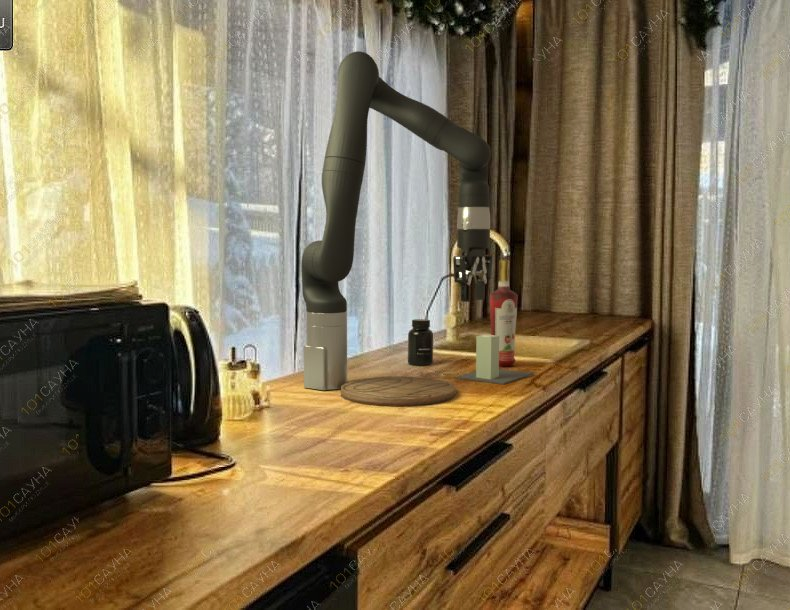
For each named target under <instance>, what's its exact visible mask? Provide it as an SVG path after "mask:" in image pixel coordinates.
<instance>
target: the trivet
mask: <svg viewBox="0 0 790 610" xmlns="http://www.w3.org/2000/svg"><path fill="white" fill-rule="evenodd" d="M456 388H457V387H456V386H455V385H454V384H453V383H451V382H448V381H445V380H442V379H435V378H429V377H419V376H401V375H400V376H398V375H397V376H396V375H395V376H377V377H374V376H373V377H365V378H360V379H355V380H351V381H347V383H345V384H343V385H342V386H341V388H340V397H341V398H342V399H344V400H346V401H348V402H351V403H356V404H359V405H364V406H375V407H387V408H388V407H392V408H397V407H399V408H403V407H404V408H405V407H407V408H409V407H421V406H423V407H424V406H431V405H438V404H441V403H444V402H445V403H446V402H448V401H451V400H452V399H454V398H455V397H456V393H457V392H456V391H457V390H456Z"/></svg>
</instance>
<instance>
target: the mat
mask: <svg viewBox="0 0 790 610" xmlns="http://www.w3.org/2000/svg"><path fill="white" fill-rule="evenodd" d="M533 374H534V375H535V373H534V372H529V371H520V370H512V369H505V368H504V369H503V368H499V377H496V378H493V379H484V378H476V370H474V371H472V372H468V373H465V374H461V375H458V376H457V375H456V376H455V379H457V380H458V379H459V380H467V381H472V382H473V381H476V382H482V383H489V384H498V385H507V384H510V383H512V382H515V381H518V379H519V380H521V378H522V379H525V378H528V377H530V375H531V376H533ZM527 376H528V377H527ZM524 377H525V378H524Z"/></svg>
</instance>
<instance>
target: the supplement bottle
mask: <svg viewBox="0 0 790 610" xmlns="http://www.w3.org/2000/svg"><path fill="white" fill-rule="evenodd" d="M411 327H412V328H411V329H410V330H409V331H408V333H407V363H408V365H410V366H418V367H425V366H426V367H427V366H431V365H433V361H434V331H432V330H431V329H430V328H431V320H430V319H424V318H421V319H420V318H417V319H415V318H413V319H412V320H411Z"/></svg>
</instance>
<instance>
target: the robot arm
mask: <svg viewBox="0 0 790 610" xmlns="http://www.w3.org/2000/svg"><path fill="white" fill-rule="evenodd" d="M336 88H337V89H336V103H335V111H334V116H333V120H332V122H331V123H332V124H331V127H330V132H329V136H328V141H327V144H326V151H325V154H324V160H323V165H322V172H321V189H322V195H323V199H324V200H323V201H324V205H325V214H326V215H325V225H324V230H323V235H322V239H321V240H314V241H312V242H310V243H309V244H307V246H306V247H305V248H304V250H303V252H302V255H301V266H300V267H301V286H302V287H301V289H302V290H301V291H302V297H303V300H304V302H305V309H306V310H305V312H306V315H305V316H306V321H305V322H306V326H305V327H306V330H305V331H306V345H304V346H303V388H306V389H313V390H319V391H328V390H330V391H331V390H341V386H342V385H343V384H345V383H348V302H347V298H346V297H345V296H344V295H343V294H342V292H341V290H340V288H339V286H340V285H339V282H341V281H343V280H344V279H346V278H347V277H348V276H349V275H350V272H351V270H352V268H353V263H354V256H355V255H354V254H355V238H356V225H357V224H356V223H357V215H358V210H359V202H360V197H361V190H362V185H363V180H364V174H365V169H366V168H365V167H366V160H367V152H368V151H367V149H368V148H367V147H368V119H369V112H370V109H372V110H374V111H376V112H378V113H380V114H381V115H384V116H386V117H387V118H389V119H391V120H392V121H394V122H396V123H397V124H399V125H400V126H402V127H403V128H405V129H406V130H408V131H410V132H411V133H413V134H414V135H415V136H417V137H418V138H420V139H422V140H423V141H425V142H426V143H427V144H429V145H431V146H432V147H434V148H435V149H438V150H439V151H443V152H444V153H447V154H449V156H450V157H453V158H454V159H455V160H457V161H458V175H459V176H458V177H459V186H458V187H459V188H458V209H457V211H458V212H457V219H456V220H457V221H456V223H457V224H456V225H457V226H456V247H457V248H458V249H461V252H460V255H455V256H453V257H452V260H453V261H452V263H453V275H454V276H453V277H454V278H453V279H454V283H457V284H458V285H460V302H463V303H465V302H466V303H469V302H471V289H472V288H471V287H472V286H471V282H472V278H473V277H474V281H475V284H474V285H475V286H474V287H475V288H474V289H475V290H474V291H475V292H474V299H475V300H477V301H483V300H485V298H486V296H485V295H486V284H487V281H491V279H492V278H491V277H492V267H493V266H492V265H493V256H492V255H491V254H487V255H486V252H485V250H486V249H490V247H491V212H490V186H489V183H488V182H489V180H488V179H489V164H490V163H489V162H490V160H491V156H492V150H491V147H490V145H489V144H488V142H487V141H486V140H484V139H483V138H482V137H480V136H478V135H477V134H475V133H474V132H472V131H470V130H468V129H466V128H464V127H462V126H460V125H458V124H457V123H456V122H454V121H453V120H451V119H449V118H448V117H447V116H446V115H444V114H442V113H441V112H439V111H437V110H436V109H435V108H433V107H431V106H429V105H427V104H425V103H423V102H420V101H418V100H416V99H413V98H411V97H409V96H406V95H405V94H403V93H401V92H399V91H397V90H396V89H394V88H393V87H392V86H390V85H389V83H387V82H385V81H384V80H383V78H381V77H380V71H379V68H378V65H377V63H376V61H375V59H374V58H373V57H372V56H371V55H370V54H369V53H367V52H365V51H358V50H357V51H352V52H350V53H349V54H347V55H346V56H344V58H343V59H342V60H341V61H340V63H339V66H338V70H337V87H336Z"/></svg>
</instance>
